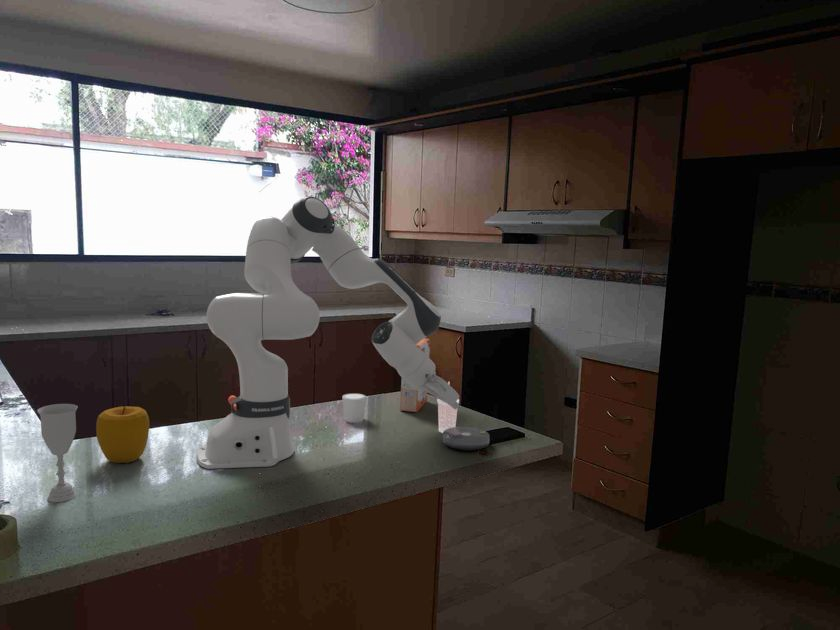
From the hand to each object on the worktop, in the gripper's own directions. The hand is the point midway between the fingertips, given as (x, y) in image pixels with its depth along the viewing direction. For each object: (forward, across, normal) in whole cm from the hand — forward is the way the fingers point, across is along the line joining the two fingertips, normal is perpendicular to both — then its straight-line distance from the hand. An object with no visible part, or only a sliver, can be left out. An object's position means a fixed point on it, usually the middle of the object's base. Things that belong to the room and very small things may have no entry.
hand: (449, 403), depth 169 cm
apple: (-52, +6, +63) cm, 82 cm away
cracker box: (+6, +25, +5) cm, 26 cm away
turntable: (+5, -12, +6) cm, 14 cm away
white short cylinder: (-10, +18, +21) cm, 29 cm away
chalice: (-60, -10, +71) cm, 93 cm away
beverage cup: (+5, 0, +6) cm, 8 cm away
